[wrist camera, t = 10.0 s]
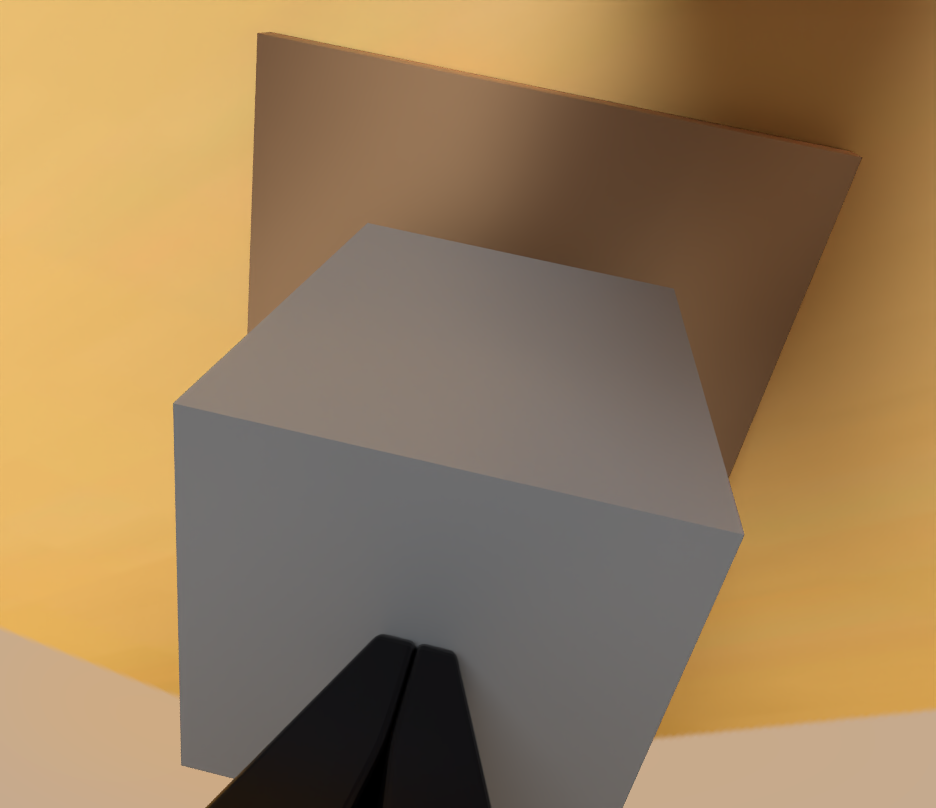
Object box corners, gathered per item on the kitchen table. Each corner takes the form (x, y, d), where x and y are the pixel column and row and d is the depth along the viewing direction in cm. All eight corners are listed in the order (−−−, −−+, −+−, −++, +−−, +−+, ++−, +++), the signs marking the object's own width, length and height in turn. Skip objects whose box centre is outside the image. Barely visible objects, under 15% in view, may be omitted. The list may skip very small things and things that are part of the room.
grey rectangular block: (673, 288, 12) (744, 535, 6) (594, 534, 15) (594, 870, 9) (367, 222, 13) (173, 402, 7) (340, 476, 15) (181, 765, 9)
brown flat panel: (850, 151, 12) (1148, 312, 6) (669, 596, 17) (716, 964, 11) (271, 32, 13) (-75, 53, 6) (251, 496, 18) (44, 789, 11)
